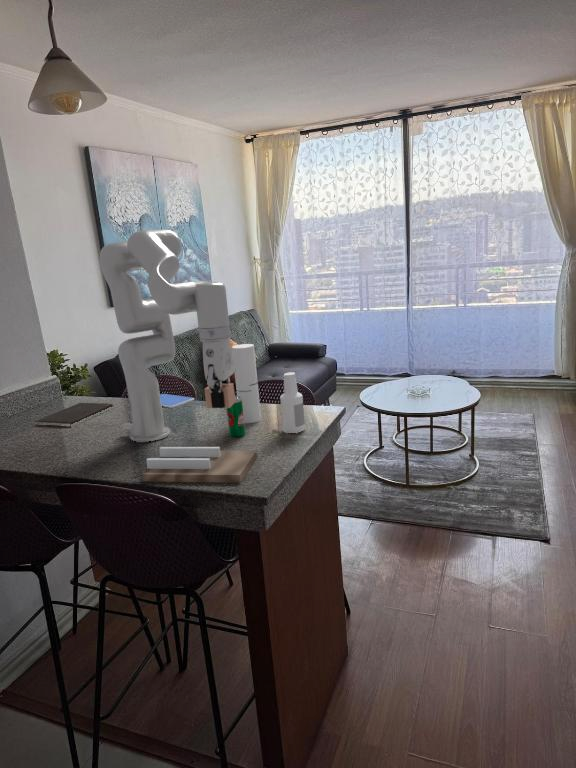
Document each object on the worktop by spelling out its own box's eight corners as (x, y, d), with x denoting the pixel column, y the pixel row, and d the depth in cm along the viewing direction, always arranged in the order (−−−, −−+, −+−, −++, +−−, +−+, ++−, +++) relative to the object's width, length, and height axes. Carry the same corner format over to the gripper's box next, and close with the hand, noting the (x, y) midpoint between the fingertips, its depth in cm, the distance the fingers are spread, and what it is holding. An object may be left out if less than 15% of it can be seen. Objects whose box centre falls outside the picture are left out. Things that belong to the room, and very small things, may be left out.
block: (206, 408, 138) (204, 389, 137) (213, 402, 143) (211, 383, 142) (229, 408, 137) (227, 388, 136) (235, 402, 142) (233, 383, 140)
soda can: (243, 438, 166) (239, 400, 163) (227, 438, 167) (222, 400, 164) (247, 432, 171) (243, 395, 168) (232, 432, 172) (228, 395, 169)
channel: (147, 468, 143) (146, 459, 142) (162, 455, 152) (160, 447, 151) (209, 469, 139) (208, 459, 139) (220, 455, 148) (219, 446, 147)
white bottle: (307, 432, 166) (302, 374, 162) (284, 435, 166) (279, 377, 161) (302, 425, 173) (298, 370, 169) (281, 428, 172) (276, 372, 168)
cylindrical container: (265, 419, 182) (258, 345, 176) (246, 424, 179) (238, 349, 172) (254, 415, 188) (246, 343, 182) (235, 420, 184) (227, 346, 178)
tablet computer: (138, 404, 217) (138, 400, 217) (163, 395, 227) (163, 392, 226) (171, 409, 205) (170, 406, 205) (195, 400, 215) (195, 397, 215)
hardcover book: (36, 427, 198) (35, 421, 197) (81, 408, 218) (80, 402, 218) (71, 428, 192) (70, 422, 191) (114, 409, 212) (113, 403, 212)
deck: (142, 481, 140) (141, 474, 140) (168, 457, 155) (167, 450, 155) (240, 482, 135) (239, 475, 134) (257, 457, 150) (256, 450, 149)
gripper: (218, 339, 126) (226, 414, 131) (239, 327, 143) (245, 394, 147) (187, 340, 128) (196, 414, 133) (211, 328, 144) (218, 395, 149)
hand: (222, 403), depth 140 cm, fingers closed on block, 5 cm apart
